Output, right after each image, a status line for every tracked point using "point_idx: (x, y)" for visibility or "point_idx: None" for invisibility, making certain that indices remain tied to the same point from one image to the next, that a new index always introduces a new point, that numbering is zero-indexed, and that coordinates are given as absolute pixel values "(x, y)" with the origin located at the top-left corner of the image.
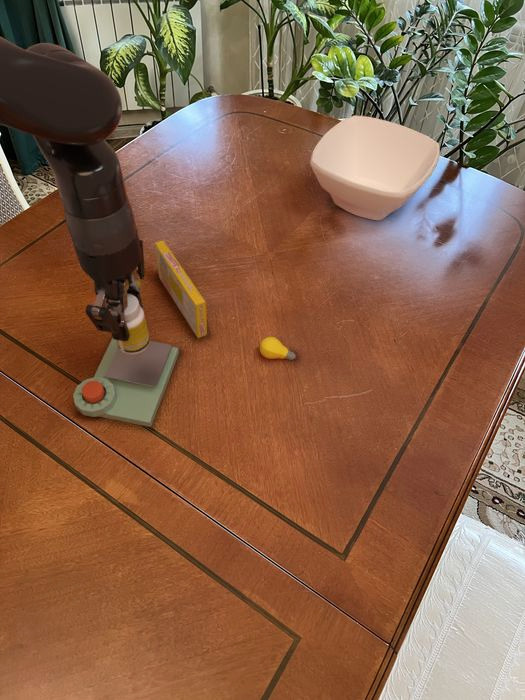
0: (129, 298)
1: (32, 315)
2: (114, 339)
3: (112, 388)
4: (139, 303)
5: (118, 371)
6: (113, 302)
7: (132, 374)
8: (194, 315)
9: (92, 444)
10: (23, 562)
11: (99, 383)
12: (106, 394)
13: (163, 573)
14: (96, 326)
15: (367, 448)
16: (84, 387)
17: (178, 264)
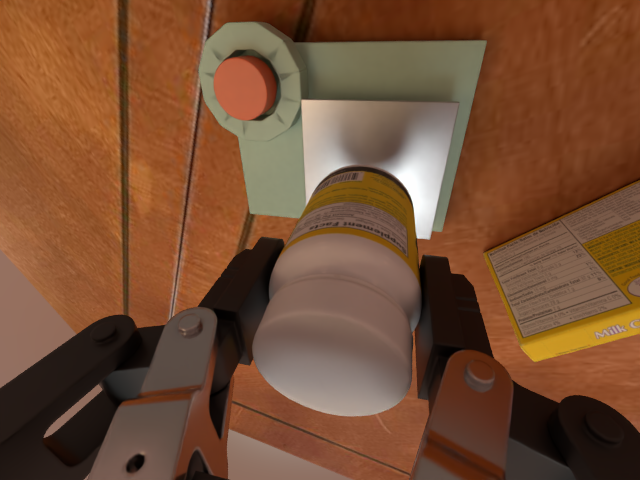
0: (374, 388)
1: None
2: (243, 253)
3: (278, 130)
4: (416, 343)
5: (326, 131)
6: (192, 467)
7: (325, 170)
8: (513, 299)
9: (183, 106)
10: None
11: (262, 104)
12: (257, 122)
13: (95, 259)
14: (36, 369)
15: (312, 418)
16: (237, 63)
17: None
